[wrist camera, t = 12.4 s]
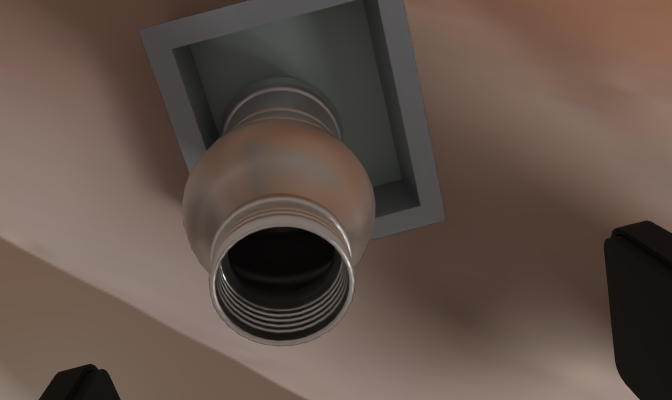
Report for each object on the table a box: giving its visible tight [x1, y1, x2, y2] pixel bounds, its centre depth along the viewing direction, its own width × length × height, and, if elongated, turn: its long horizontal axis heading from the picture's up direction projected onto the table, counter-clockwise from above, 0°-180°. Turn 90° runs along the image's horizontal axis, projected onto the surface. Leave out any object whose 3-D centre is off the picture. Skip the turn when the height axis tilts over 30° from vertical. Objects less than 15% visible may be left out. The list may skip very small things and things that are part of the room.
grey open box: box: [138, 0, 446, 241], centre depth 31 cm, size 13×12×6 cm
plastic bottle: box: [182, 77, 376, 346], centre depth 23 cm, size 6×7×20 cm
